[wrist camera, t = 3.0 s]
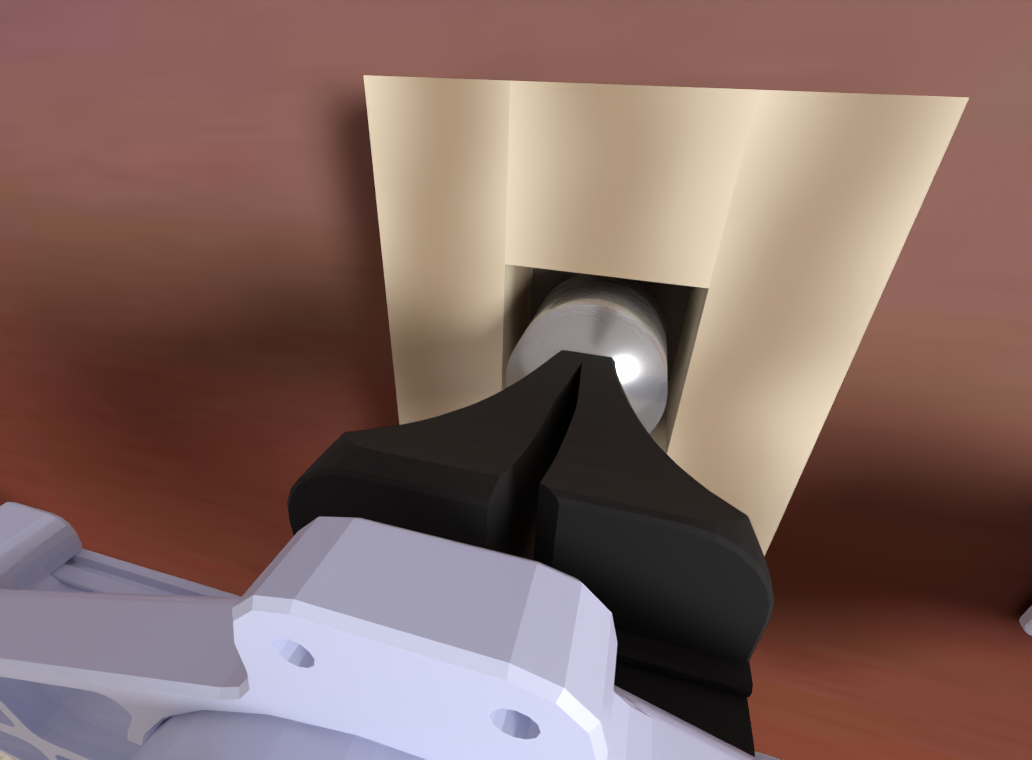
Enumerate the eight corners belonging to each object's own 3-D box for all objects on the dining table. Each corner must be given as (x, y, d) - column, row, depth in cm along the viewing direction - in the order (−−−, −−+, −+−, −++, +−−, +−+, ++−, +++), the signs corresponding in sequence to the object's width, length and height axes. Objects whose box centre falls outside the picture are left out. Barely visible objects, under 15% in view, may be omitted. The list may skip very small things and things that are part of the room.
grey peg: (679, 280, 13) (683, 327, 10) (653, 401, 15) (651, 468, 12) (540, 263, 14) (508, 303, 11) (532, 380, 16) (503, 439, 13)
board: (890, 99, 11) (969, 97, 9) (679, 663, 24) (681, 743, 21) (427, 81, 14) (363, 75, 11) (451, 600, 26) (424, 663, 23)
